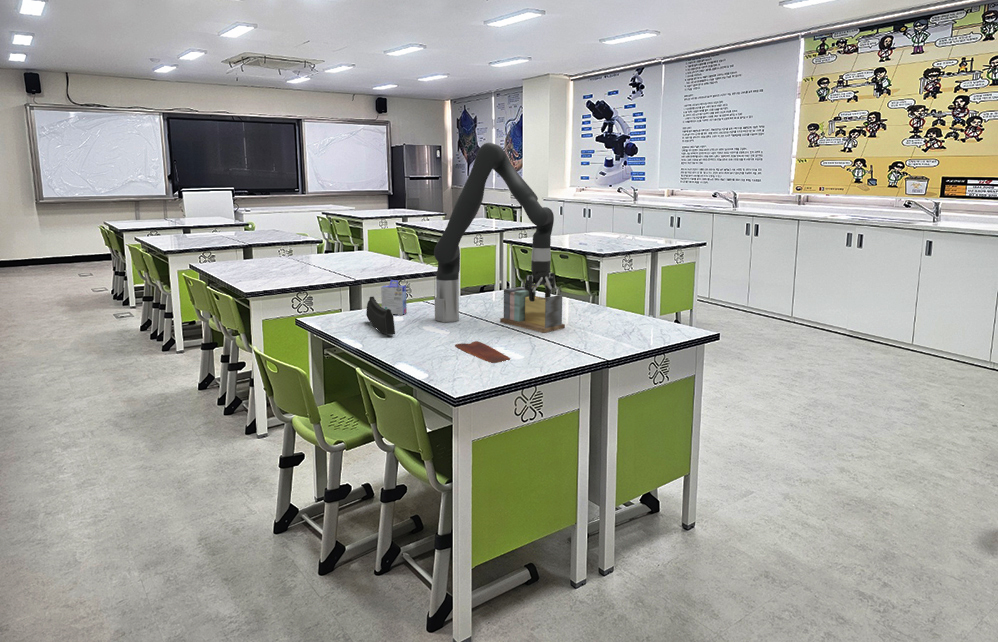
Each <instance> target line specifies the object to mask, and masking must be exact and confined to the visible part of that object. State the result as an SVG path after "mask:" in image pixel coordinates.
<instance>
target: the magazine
mask: <svg viewBox="0 0 998 642" xmlns="http://www.w3.org/2000/svg"><path fill="white" fill-rule="evenodd" d="M368 298H369V300H368V301H367V303H366V304H367V305H366V313H365V315H366V317H367V319H368V321H369V322H370V324H371V325H372V326H373V327H375V328H377V329H378V330H379V331H380V332H379V331H378V330H377V329H376V330H377V331H378V332H379V333H381V334H384V335H386V336H394V335H396V328H395V319H394V315H393V314H392V313H391V310H390V309H387V310H386V309H384V308H382V305H380V304H379V303H378V302H377V301H376V299H375V296H369V297H368ZM375 328H374V329H375Z"/></svg>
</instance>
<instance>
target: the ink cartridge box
mask: <svg viewBox="0 0 998 642" xmlns="http://www.w3.org/2000/svg"><path fill="white" fill-rule="evenodd" d="M394 282H395V283H394ZM380 292H381V293H380V294H381V296H380V298H381V301H380V302H381V307H382V308H384V309H386V310H387V309H390V310H391V313H392V314H398V315H397V316H403V314H404V315H406V314H407V312H408V311H407V285H399V280H396V279H390V282H389V285H387V284H386V285H383V286H381V287H380ZM405 313H406V314H405Z"/></svg>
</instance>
